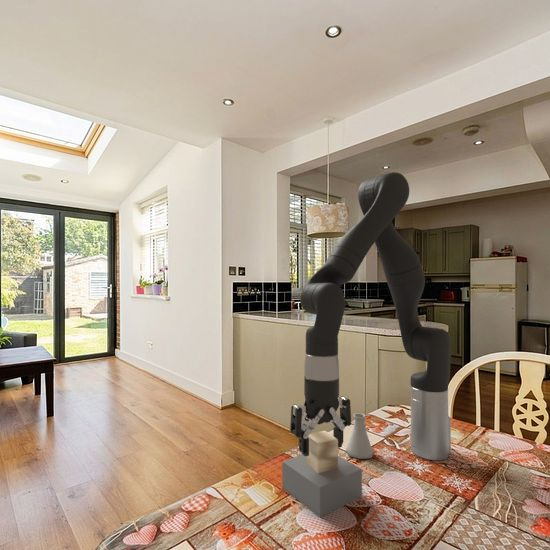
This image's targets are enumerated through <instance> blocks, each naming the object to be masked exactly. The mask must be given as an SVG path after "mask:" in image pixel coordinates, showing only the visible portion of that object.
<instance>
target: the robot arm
mask: <svg viewBox="0 0 550 550" xmlns="http://www.w3.org/2000/svg"><path fill="white" fill-rule="evenodd" d="M409 196H410V186H409V182H408V179H407V178H406V177H405V176H404V175H403V174H402V173H400V172H393V171H392V172H388V173H383V174H380V175H377V176H374V177H371V178H369V179H366V180H364V181H362V182H361V184H360V186H359V187H358V191H357V199H358V203H359V207H360V209H361V212H362V214H363V217H362V218H361V219H360V220H359V221H358V222H357V223H356V224H354V225H353V226H352V227H351V228H350V229H349V230H348V231H346V232H345V234H344V235H343V236H342V237H341V238H340V239H339V240H338V242H337V243H336V245H335V246H334V247H333V249H332V251H331V252H330V254H329V256H328V258H327V259H326V261H325V263H324V264H323V265H322V266H321V267H320V268H319V269H318V270H316V272H315V273H314V274H313V275H312V276H311V277H310V278H309V279H308V280H307V282H306V283H305V285H304V286H303V288H302V290H301V293H300V296H299V297H300V301H299V302H300V306H301V308H302V309H303V310H304V311H305V312H307V313H308V314H311V315H315V320H314V324H313V325H311V326H309V327H308V328H307V329H306V332H305V356H304V365H303V366H304V367H303V368H304V369H303V371H304V372H303V374H304V375H303V376H304V377H303V381H304V384H303V385H304V386H303V391H304V392H303V393H304V399H305V401H304V403H303V405H302V404H301V405H297V404H295V403H293V404H292V405H291V410H290V413H291V414H290V425H289V431H290V434H292V435H293V436H295V437H296V438H298V450H299V452H300V453H301V455H302V454H303V455H304V456H309V438H308V436H309V434H310V433H312V431H313V430H315V428H316V427H317V425H322V424H324V423H326V424H328V423H332V425H333V426H334V427H333V428H332V429H333V435H332V436H334V437H335V438H337V439H338V449H340V448H342V447H343V444H344V430H345V429H346V427H347V426H348V427H350V426H351V425H352V412H351V400H350V399H349V398H347V397H345V396H342V395H340V360H339V332H340V329H341V326H342V321H343V318H344V313H345V309H346V308H345V307H346V299H345V295H344V291H343V289H342V288H341V287H340V286H342V285H345V284H347V283H349V282H350V281H351V280H352V279H353V278H354V276H355V274H356V273H357V271H358V270H359V268H360V266H361V265H362V262H363V261H364V259H365V257H366V256H367V255H368V253H369V251H370V249H371V248H372V246H373V245H374V244H375V247H376V250H377V253H378V255H379V259H380V262H381V266H382V270H383V274H384V277H385V279H386V283H387V287H388V289H389V291H390V294H391V297H392V301H393V306H394V308H395V312H396V315H397V319H398V326H399V331H400V337H401V342H402V345H403V346H402V347H403V349H404V351H405V352H406V354H407V355H408V357H410V358H411V359H413V360H417V361H422V362H425V363H427V365H426V369H425V371H420V372H415V373H413V374H412V375H410V450H411V452H412V453H413V454H414V455H416V456H418V457H420V458H422V459H425V460H430V461H444V460H447V459H448V458H449V455H450V454H451V453H452V448H451V447H452V446H451V445H452V444H451V443H452V442H451V441H452V438H451V437H452V436H451V435H452V432H451V431H452V429H451V425H452V423H451V417H450V415H449V383H450V378H451V361H452V360H451V359H452V358H451V357H452V340H451V337H450V335H449V333H448V331H447V330H445V329H443V328H438V327H428V326H423V325H422V324H421V321H420V318H419V313H418V308H419V307H418V306H419V303H420V300H421V298H422V295H423V293H424V290H425V284H426V279H425V273H424V270H423V267H422V263H421V260H420V257H419V255H418V253H417V252H416V251H415V249H414V248H413V247H412V246H411V245H410V243H408V242H407V240H406V239H405V238H403V236H402V235H400V233H399V232H398V230H397V229H396V228H395V225H394V224H393V222H392V221H393V220H394V219H395V217H397V215H398V214H399V213H400V212H401V211H402V210H403V208H404V207H405V205H406V203H407V202H408V199H409ZM338 409H339V414H338V413H337V412H338ZM304 413H305V414H304Z"/></svg>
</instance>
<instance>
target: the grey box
mask: <svg viewBox="0 0 550 550" xmlns="http://www.w3.org/2000/svg"><path fill="white" fill-rule="evenodd" d="M281 468H282V469H281V470H282V471H281V472H282V474H281V475H282V478H281V480H282V489H283V490H284V491H285V492H287V493H288V494H289V495H290V496H292V497H293V498H294V499H295V500H297V501H298V502H299V503H300V504H302V505H303V506H304V507H306V509H308V510H309V511H310V512H311V513H313V514H315V516H317V518H319V517H320V518H322V517H324V516H326V515H328V514H330V513H331V511H332V512H334V511H336V510H338V509H340V508H342V507H344V506H345V505H347V504H350V503H351V502H353V501H356V500H357V499H359V498H361V497H363V468H361V467H359V466H357V465H356V464H354V463H353V462H351V461H349V460H346V459H345V458H343V457H341V456H339V455H338V468H336V469H332V470H329V471H325V472H321V473H317V472H316V471H315V470H314V469H313V468H312V467H310V466H309V465H308V464H307V463H306V456H304V455H303V454H302V453H301V454H300V455H297V456H294V457H291V458H289V459H285V460H283V461H282V467H281ZM329 512H330V513H329Z"/></svg>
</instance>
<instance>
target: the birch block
mask: <svg viewBox="0 0 550 550" xmlns="http://www.w3.org/2000/svg"><path fill="white" fill-rule="evenodd" d="M308 438H309V456H306V463H307V464H308V465H309V466H310V467H312V468H313V469H314V470H315V471H316V472H317V473H321V472H325V471H329V470H332V469H336V468H338V456H339V448H338V439H337V438H335V437H334V436H333V435H332V434H331V433H329V432H328V431H327V430H321V431H315V432H310V434H309V436H308Z"/></svg>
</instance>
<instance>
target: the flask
mask: <svg viewBox="0 0 550 550" xmlns="http://www.w3.org/2000/svg"><path fill="white" fill-rule="evenodd" d="M353 418H354V421H353V422H354V423H353V429H352V431H351V432H352V433H351V434H350V438H349V441H348V443H347V446H346V448H345V452H346V454H347V455H348V457H352V458H355V459H359V460H363V459H364V460H366V459H372V457H373V456H374V453H375V452H374V451H373V448H372V445H371V442H370V439H369V436H368V433H367V429H366V423H365V422H366V421H365V420H366V414H365V413H359V412H357V413H353Z"/></svg>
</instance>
